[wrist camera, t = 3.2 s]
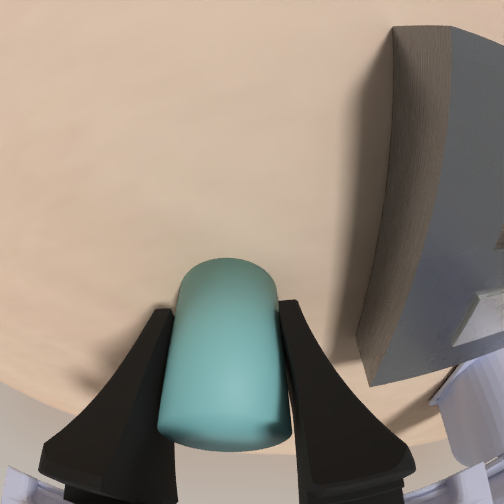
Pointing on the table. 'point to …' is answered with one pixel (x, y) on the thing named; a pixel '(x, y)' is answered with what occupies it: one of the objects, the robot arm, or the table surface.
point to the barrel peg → (226, 362)
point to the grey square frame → (439, 210)
